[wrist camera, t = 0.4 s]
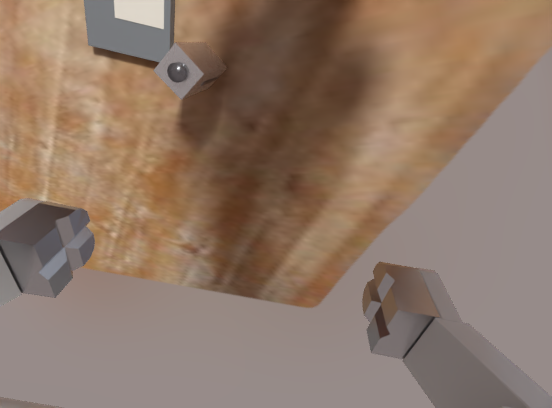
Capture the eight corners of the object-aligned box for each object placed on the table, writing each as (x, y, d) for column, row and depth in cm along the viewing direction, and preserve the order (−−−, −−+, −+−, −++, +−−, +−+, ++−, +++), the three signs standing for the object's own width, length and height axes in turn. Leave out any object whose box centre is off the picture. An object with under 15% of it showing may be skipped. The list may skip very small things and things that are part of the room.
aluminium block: (205, 41, 48) (172, 41, 37) (228, 67, 50) (202, 75, 39) (187, 64, 50) (149, 70, 39) (209, 88, 52) (179, 101, 41)
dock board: (84, -60, 44) (77, -63, 42) (175, -38, 44) (171, -41, 42) (94, 45, 51) (88, 45, 49) (173, 64, 51) (169, 64, 49)
